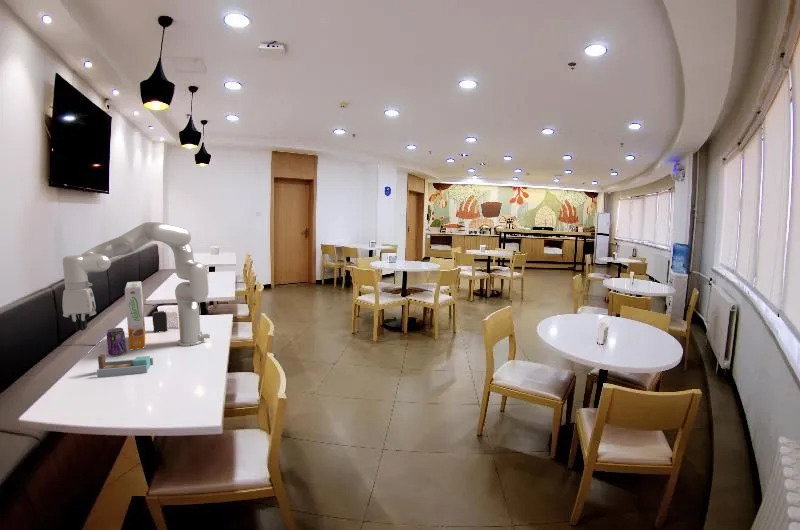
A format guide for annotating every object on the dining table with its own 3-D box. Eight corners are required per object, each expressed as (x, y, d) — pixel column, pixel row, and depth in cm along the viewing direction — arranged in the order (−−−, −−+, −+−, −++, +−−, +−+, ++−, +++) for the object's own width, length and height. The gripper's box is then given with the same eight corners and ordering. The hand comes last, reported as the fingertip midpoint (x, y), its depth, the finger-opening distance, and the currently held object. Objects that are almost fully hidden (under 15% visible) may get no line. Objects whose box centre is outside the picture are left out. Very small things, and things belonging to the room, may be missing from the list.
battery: (167, 329, 240) (166, 309, 239) (167, 331, 237) (166, 311, 235) (153, 331, 237) (152, 311, 235) (153, 332, 233) (151, 312, 232)
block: (150, 366, 185) (149, 355, 184) (147, 370, 180) (146, 359, 179) (137, 367, 183) (136, 356, 183) (134, 372, 179) (133, 360, 178)
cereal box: (144, 347, 209) (140, 288, 205) (129, 349, 206) (124, 289, 202) (145, 335, 228) (141, 281, 224) (131, 337, 225) (127, 282, 221)
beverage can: (117, 357, 196) (115, 332, 194) (104, 356, 197) (102, 331, 195) (129, 352, 203) (127, 328, 201) (117, 351, 204) (115, 327, 202)
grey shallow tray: (153, 364, 187) (152, 357, 187) (146, 372, 178) (146, 365, 177) (106, 368, 182) (106, 361, 182) (97, 377, 173) (96, 370, 172)
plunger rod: (134, 367, 182) (132, 351, 181) (131, 369, 179) (130, 354, 178) (102, 370, 179) (100, 354, 178) (99, 372, 176) (97, 356, 175)
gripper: (102, 283, 176) (106, 326, 179) (59, 285, 172) (63, 328, 175) (95, 286, 169) (99, 331, 172) (49, 288, 165) (54, 334, 168)
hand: (81, 329), depth 173 cm, fingers closed
